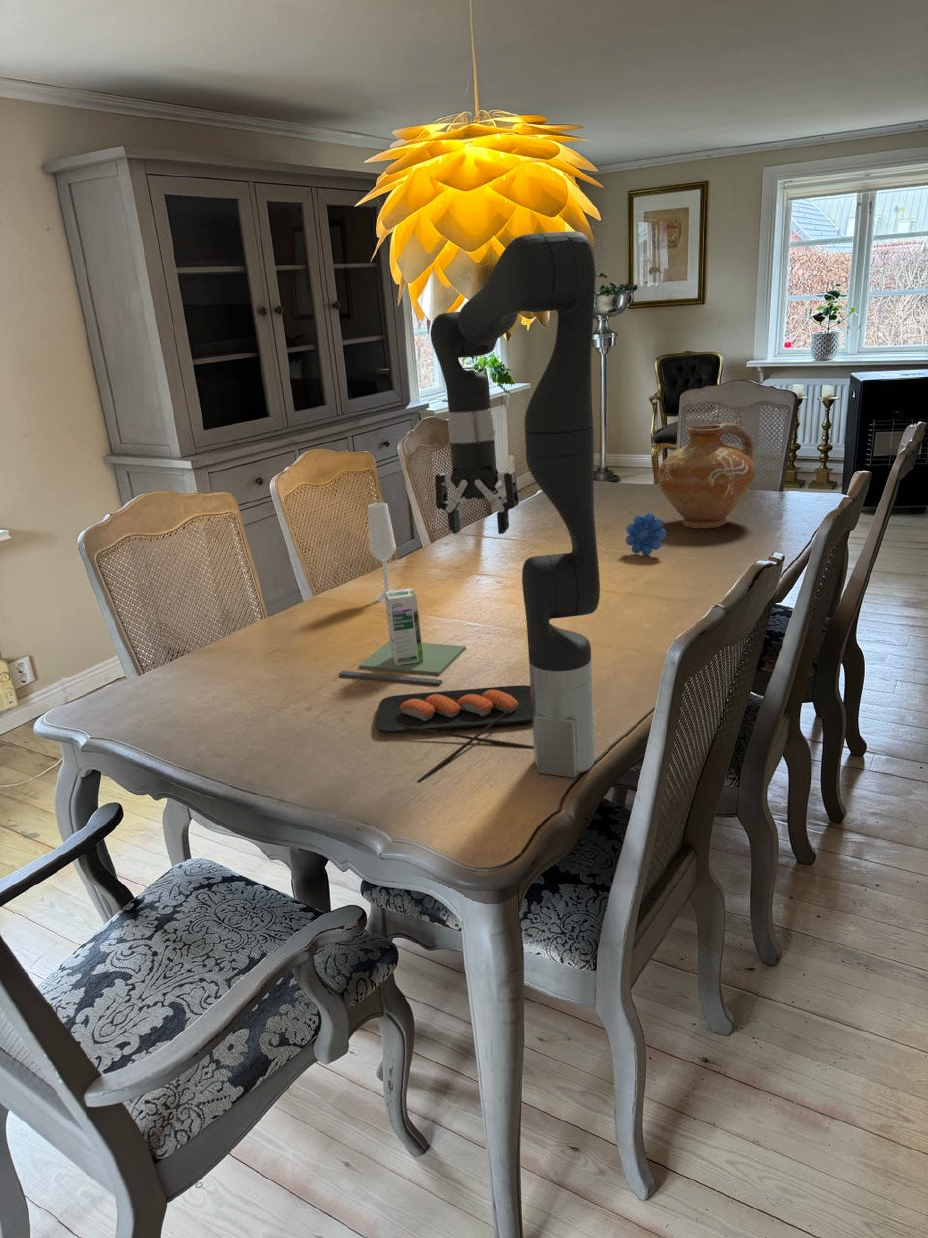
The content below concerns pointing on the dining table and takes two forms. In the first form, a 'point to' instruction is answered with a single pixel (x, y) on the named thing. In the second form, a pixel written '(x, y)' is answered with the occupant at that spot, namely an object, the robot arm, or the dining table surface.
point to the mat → (433, 662)
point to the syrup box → (404, 626)
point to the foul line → (391, 678)
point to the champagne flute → (381, 539)
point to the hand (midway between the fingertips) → (479, 532)
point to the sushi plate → (456, 713)
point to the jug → (708, 475)
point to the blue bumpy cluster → (645, 534)
